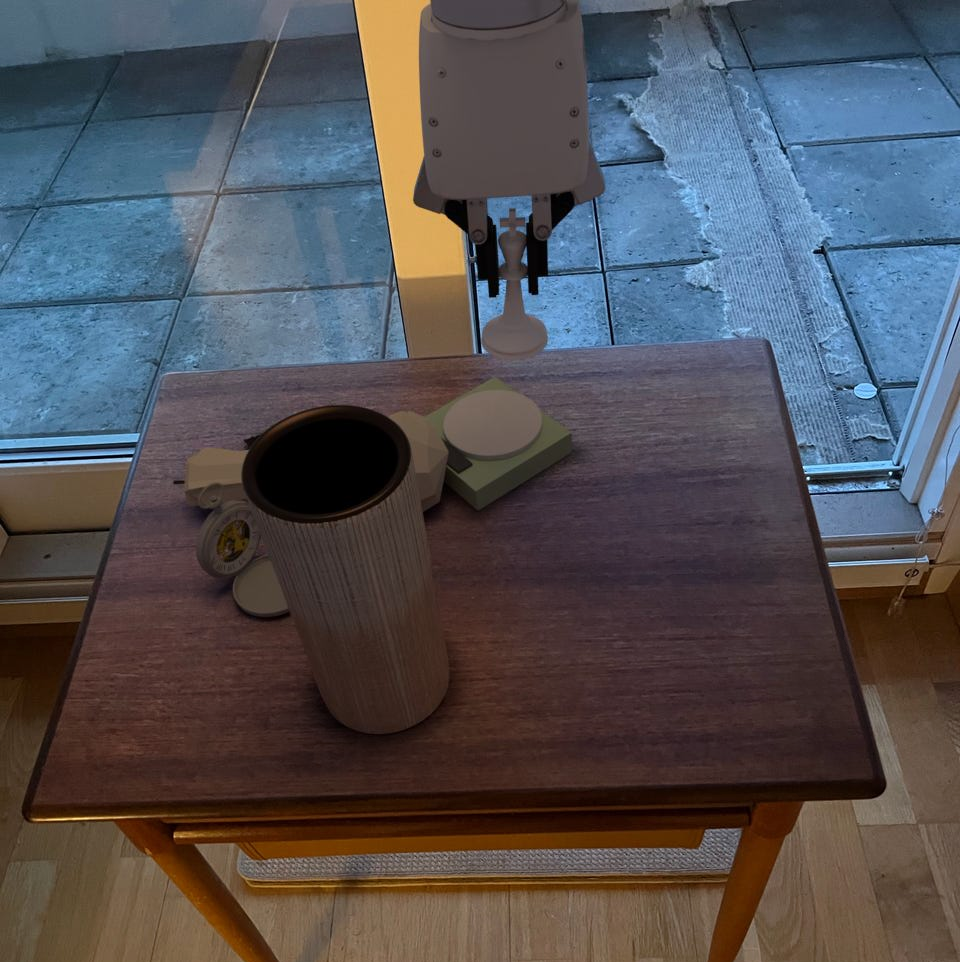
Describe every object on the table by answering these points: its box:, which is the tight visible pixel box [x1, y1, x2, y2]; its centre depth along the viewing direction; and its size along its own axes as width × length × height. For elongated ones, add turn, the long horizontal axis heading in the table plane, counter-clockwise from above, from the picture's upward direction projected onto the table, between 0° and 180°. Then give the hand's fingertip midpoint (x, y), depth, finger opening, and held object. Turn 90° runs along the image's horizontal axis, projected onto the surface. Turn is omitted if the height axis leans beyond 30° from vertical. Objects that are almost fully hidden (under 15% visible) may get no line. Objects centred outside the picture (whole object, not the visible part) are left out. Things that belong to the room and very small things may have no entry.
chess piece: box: [480, 207, 549, 361], centre depth 66 cm, size 5×5×10 cm
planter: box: [241, 404, 450, 735], centre depth 64 cm, size 10×10×23 cm
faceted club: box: [172, 410, 449, 513], centre depth 83 cm, size 9×8×25 cm
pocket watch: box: [195, 482, 290, 618], centre depth 76 cm, size 8×8×10 cm
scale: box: [424, 376, 573, 511], centre depth 87 cm, size 11×11×3 cm
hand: (513, 283), depth 66 cm, fingers closed on chess piece
